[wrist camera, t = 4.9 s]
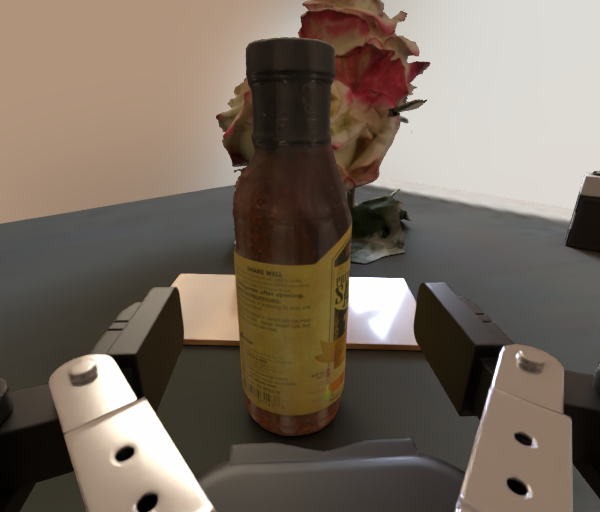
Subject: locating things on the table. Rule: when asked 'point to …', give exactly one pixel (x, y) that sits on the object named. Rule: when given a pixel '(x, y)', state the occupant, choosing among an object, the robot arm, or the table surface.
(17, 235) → the table surface
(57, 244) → the table surface
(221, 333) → the flat copper plate
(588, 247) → the camera
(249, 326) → the sauce bottle
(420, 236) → the table surface
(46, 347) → the table surface
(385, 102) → the rose bouquet
